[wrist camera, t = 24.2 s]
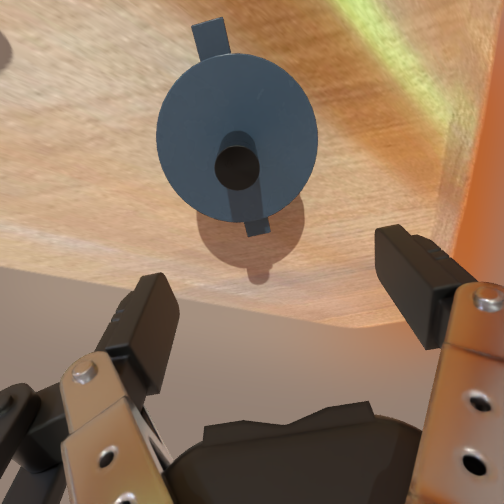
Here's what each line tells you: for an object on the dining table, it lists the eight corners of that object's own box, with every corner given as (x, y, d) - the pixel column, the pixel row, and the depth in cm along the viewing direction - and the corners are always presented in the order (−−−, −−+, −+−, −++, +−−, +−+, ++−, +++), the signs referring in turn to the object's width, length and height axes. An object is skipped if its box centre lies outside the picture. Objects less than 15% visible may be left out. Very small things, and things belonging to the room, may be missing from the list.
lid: (303, 32, 22) (328, 15, 16) (322, 200, 28) (345, 234, 22) (132, 80, 23) (92, 81, 17) (189, 231, 30) (176, 271, 24)
